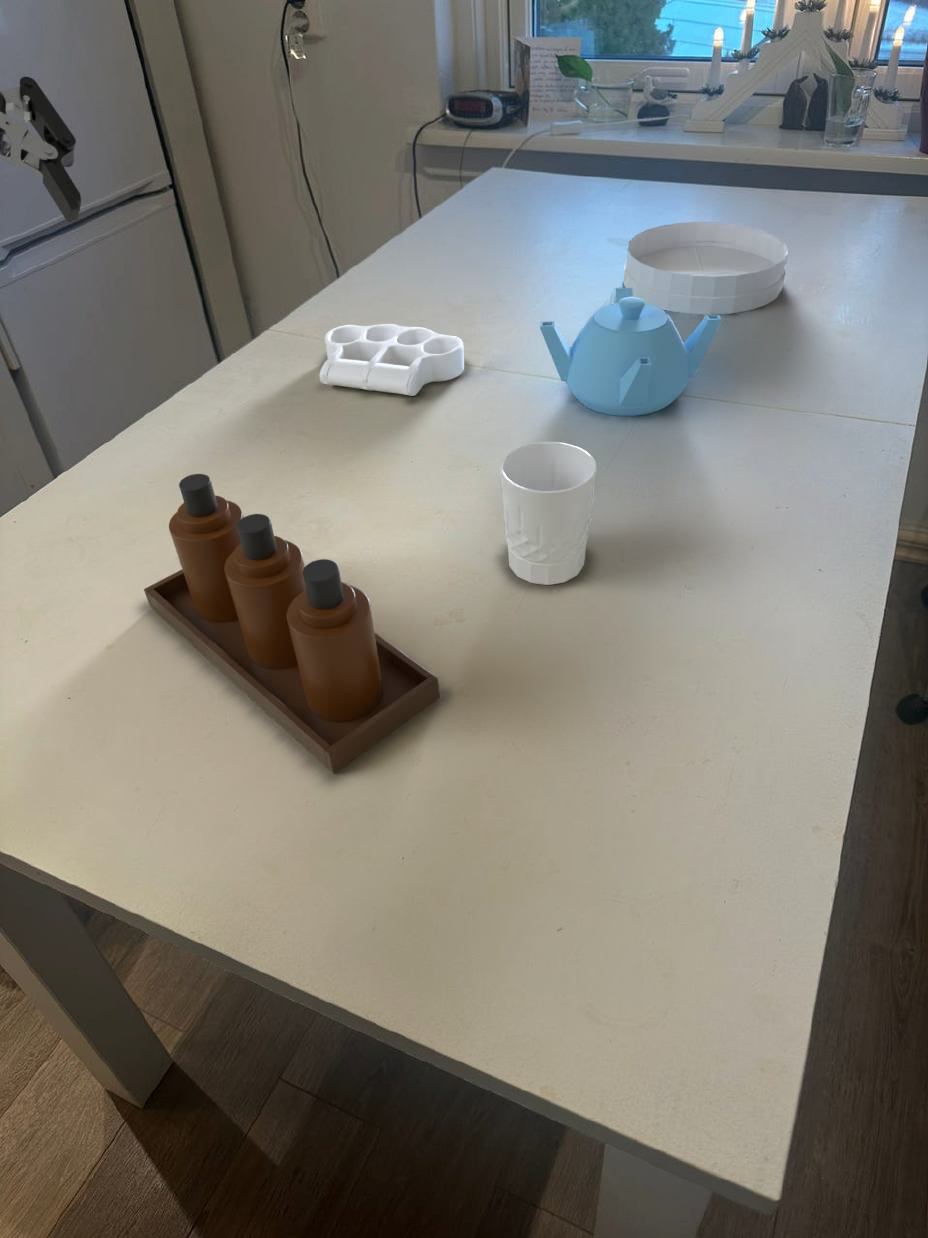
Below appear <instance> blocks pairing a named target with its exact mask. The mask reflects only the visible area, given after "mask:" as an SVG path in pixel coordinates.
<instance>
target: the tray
mask: <svg viewBox="0 0 928 1238" xmlns="http://www.w3.org/2000/svg"><path fill="white" fill-rule="evenodd" d="M143 592H144V594H145V598H146V600H147V602H148V605H149V607H150V609H151V610H152V611H154V612H155V613H156V614H157V615H158V616H159V617H160V618H161V619H163V620H164V621H165V623H167V624H168V625H169V626H170V627H171V628H172V629H173V630H174V631H176V632H177V633H178V634H179V635H180V636H181V637H182V638H183V639H185V641H187V642H188V643H189V645H191V646H192V647H193V648H194V649H195V650H196V651H197V652H199V653H200V654H201V656H203V657H204V658H205V659H207V661H209V662H210V663H211V664H212V665H213V667H215V668H216V669H217V670H218V671H220V672H221V673H222V674H223V675H224V676H225V677H226V678H227V679H228V680H230V681H231V682H232V683H233V684H234V685H235V686H236V687H237V688H238V689H239V690H240V691H242V692H243V693H244V694H245V695H246V696H247V697H248V698H250V700H252V701H253V702H254V704H256V705H257V706H258V707H259V708H260V709H262V711H264V712H265V713H266V714H267V715H268V716H269V717H270V718H271V719H272V720H274V721H275V723H277V724H278V725H279V726H280V727H281V728H283V730H284V731H285V732H286V733H288V734H289V735H290V736H291V737H292V738H293V739H294V740H296V741H297V742H298V743H299V744H300V745H301V746H302V747H303V748H304V749H305V750H307V752H308V753H310V754H311V755H312V756H313V757H315V759H316V760H317V761H318V762H319V763H321V764H322V765H323V766H324V767H325V768H326V769H327V770H329V772H331V773H332V774H333V775H334V774H336V773H338V772H339V771H340V770H342V769H343V768H345V767H346V766H347V765H349V764H350V763H351V762H353V761H354V760H355V759H357V758H358V757H360V756H361V755H362V754H364V753H365V752H366V751H368V750H369V749H371V748H372V747H373V746H375V745H376V744H378V742H380V741H382V740H383V739H384V738H386V737H387V736H389V735H390V734H391V733H392V732H394V731H395V730H397V729H398V728H400V727H402V725H404V724H405V723H407V722H408V721H410V719H412V718H414V717H415V716H416V715H418V714H419V713H420V712H423V710H424V709H426V708H427V707H429V706H430V705H432V704H433V703H434V702H436V701H437V700H438V699H439V698H440V685H439V678H438V677H437V676H435V675H434V674H433V673H432V672H430V671H429V670H427V669H426V668H424V666H422V665H420V664H419V663H417V662H416V661H415V660H414V659H412V658H411V657H409V656H408V655H407V654H405V653H404V652H403V651H401V650H400V649H398V648H397V647H396V646H394V645H393V644H392V643H390V642H389V641H387V640H386V639H385V638H383V637H382V636H380V635H379V634H378V633H377V632H375V631H374V633H375V640H376V646H377V653H378V659H379V666H380V672H381V679H382V685H383V694H382V698H381V700H380V702H379V704H378V705H377V706H376V707H375V708H374V709H373V710H372V711H371V712H370V713H368V714H367V715H365V716H363V717H361V718H359V719H356V720H353V721H348V722H331V721H327V720H324V719H322V718H320V717H318V716H316V715H315V714H314V713H313V712H312V711H311V710H310V708H309V706H308V704H307V700H306V696H305V692H304V688H303V683H302V679H301V675H300V671H299V667H298V665H296V666H294V667H290V668H285V669H269V668H265V667H262V666H260V665H258V664H256V663H255V662H254V661H253V660H252V659H251V658H250V656H249V654H248V650H247V647H246V643H245V640H244V636H243V633H242V629H241V626H240V622H239V619H238V620H234V621H229V622H213V621H209V620H206V619H204V618H202V617H201V616H200V615H199V614H198V613H197V611H196V609H195V606H194V603H193V600H192V597H191V594H190V591H189V588H188V585H187V582H186V579H185V576H184V573H183V570H182V569H179V570H177V571H176V572H174V573H172V574H170V575H168V576H166V577H165V578H163V579H160V580H159V581H157V582H155V583H153V584H151V585H149V586H147V587H145V588H144V589H143Z"/></svg>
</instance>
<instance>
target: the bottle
mask: <svg viewBox="0 0 928 1238" xmlns="http://www.w3.org/2000/svg"><path fill="white" fill-rule="evenodd" d="M178 487H179V490H180V493H181V497H182V500H183V503H182V504H181V505H179V506H178V508H177V511H176V512H175V513H174V514H173V515H172V516H171V518H170V520H169V522H168V530H169V533H170V537H171V539H172V542H173V546H174V548H175V551H176V554H177V558H178V560H179V564H180V567H181V570H183V573H184V576H185V579H186V582H187V585H188V588H189V591H190V594H191V597H192V600H193V603H194V606H195V609H196V611H197V613H198V614H199V615H200V616H201V617H202V618H204V619H206V620H209V621H213V622H229V621H234V620H238V616H237V612H236V609H235V605H234V602H233V598H232V595H231V591H230V588H229V585H228V581H227V578H226V574H225V571H224V567H225V563H226V560H227V559H228V557H229V556H230V555H231V554H232V553H233V552H234V551H235V549H236V548H237V546H238V545H239V544H241V539H240V536H239V532H238V528H237V525H238V522H239V521H240V520H241V519H242V518H244V517H245V516H244V514H243V510H242V508H241V507H240V506H239V505H238V504H237V503H235V502H234V501H231V500H228V499H225V498H224V497H222V496H220V495H216V493H215V491H214V487H213V484H212V480H211V477H210V476H209V475H207V474H205V473H193V474H189V475H187V476H185V477H183V478H182V479H181V480H180V481H179V483H178Z"/></svg>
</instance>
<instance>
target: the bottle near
mask: <svg viewBox="0 0 928 1238" xmlns="http://www.w3.org/2000/svg"><path fill="white" fill-rule="evenodd" d="M304 566H305V568H304V569H303V577H304V582H305V586H306V589H305V590H304V591H303V592H302V593H301V594H300V595H298V596H297V597H296V598H295V599H294V600H293V601H292V602H291V604H290V606H289V608H288V611H287V621H288V625H289V630H290V634H291V638H292V642H293V646H294V650H295V654H296V659H297V663H298V667H299V671H300V675H301V679H302V683H303V688H304V692H305V696H306V700H307V704H308V706H309V708H310V710H311V711H312V712H313V713H314V714H315V715H316V716H318V717H320V718H322V719H324V720H327V721H331V722H348V721H353V720H356V719H359V718H361V717H363V716H365V715H367V714H368V713H370V712H371V711H372V710H373V709H374V708H375V707H376V706H377V705H378V704H379V702H380V700H381V698H382V694H383V685H382V679H381V672H380V666H379V659H378V653H377V646H376V640H375V633H376V632H375V627H374V622H373V621H374V620H373V615H372V608H371V603H370V599H369V597H368V596H367V594H365V592H364V591H362V590H361V589H360V588H358V587H355V586H353V585H350V584H347V583H345V582H343V581H342V580H341V579H342V578H341V574H340V567H339V565H338V563H337V562H335V561H334V560H331V559H325V558H324V559H321V558H320V559H316V560H313V561H310V562H309V563H307V564H306V565H304ZM374 632H375V633H374Z"/></svg>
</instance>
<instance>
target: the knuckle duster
mask: <svg viewBox="0 0 928 1238" xmlns="http://www.w3.org/2000/svg"><path fill="white" fill-rule="evenodd" d="M324 344H325V349H326V350H325V351H326V355H327V360H325V361H324V362H323V364H322V366H321V369H320V370H319V371H320V372H319V382H320V383H321V384H323V385H328V386H337V387H338V386H339V387H345V388H353V389H360V390H361V389H362V390H366V391H372V392H373V391H375V392H383V393H390V394H391V393H392V394H399V395H405V396H410V397H413V396H416V395H418V393H419V392H420V390H421V389H422V388H423V386H425V385H428V384H430V383H433V382H445V381H451V380H453V379H456V378H457V377H459V376H460V375H462V374H463V372H464V371H465V356H464V355H465V354H464V342H463V341H462V339H461V338H460V337H458V336H457V335H448V334H447V335H446V334H440V333H437V332H435V331H433V330H431V329H430V328H426V327H422V326H402V325H398V324H395V323H378V324H374V325H355V324H345V325H339V326H336V327H334V328H331V329H330V330H329V331H327V332H326V333H325V335H324Z"/></svg>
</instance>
